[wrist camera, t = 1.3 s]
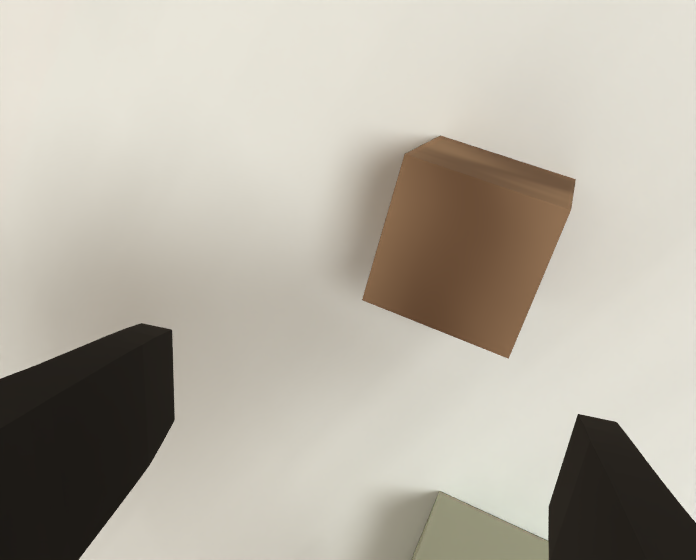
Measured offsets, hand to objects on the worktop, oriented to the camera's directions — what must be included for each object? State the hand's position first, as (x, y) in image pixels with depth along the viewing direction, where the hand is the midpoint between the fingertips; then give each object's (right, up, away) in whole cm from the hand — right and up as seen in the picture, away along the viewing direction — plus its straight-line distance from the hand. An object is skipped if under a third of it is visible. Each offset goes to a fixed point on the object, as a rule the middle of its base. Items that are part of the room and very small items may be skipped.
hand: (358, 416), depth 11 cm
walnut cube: (+4, +4, +10) cm, 12 cm away
